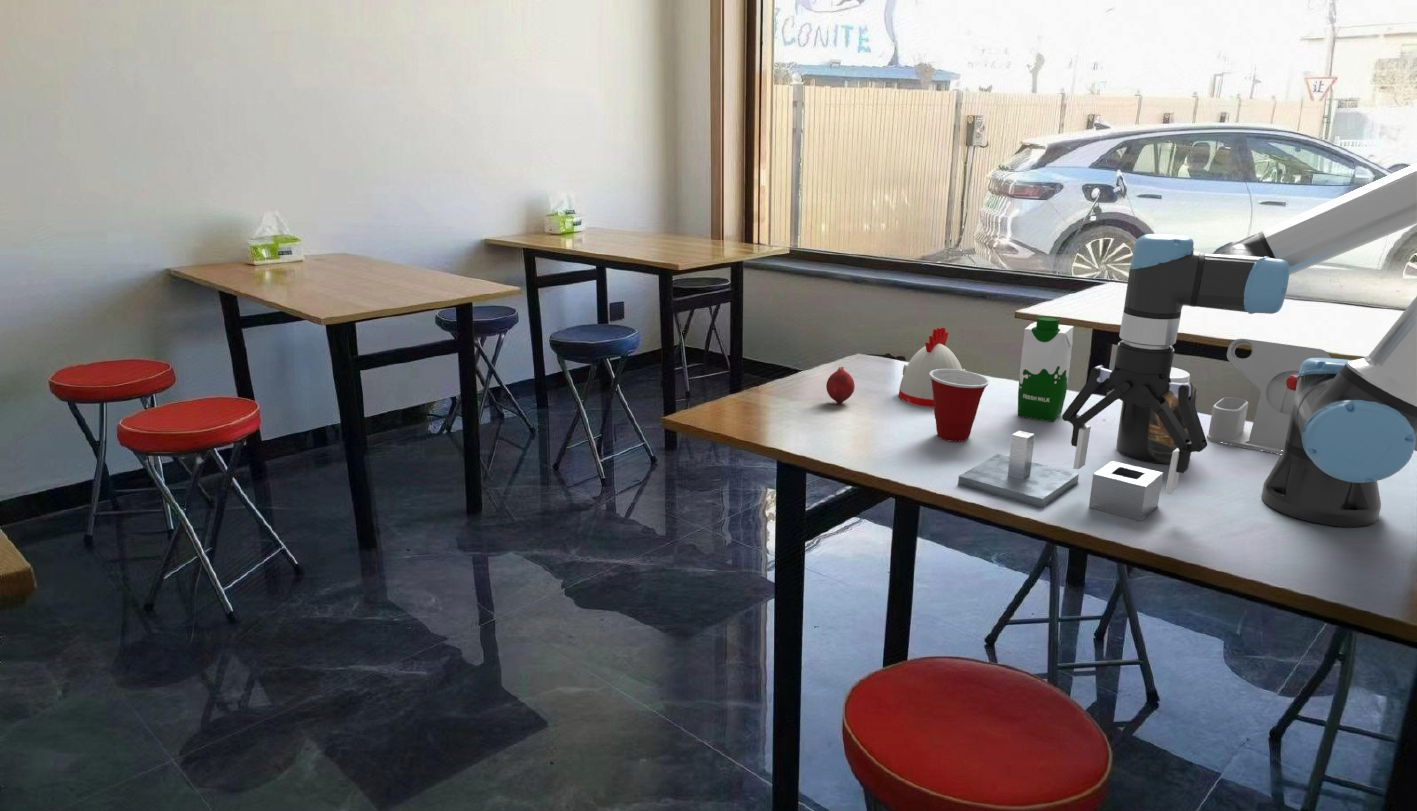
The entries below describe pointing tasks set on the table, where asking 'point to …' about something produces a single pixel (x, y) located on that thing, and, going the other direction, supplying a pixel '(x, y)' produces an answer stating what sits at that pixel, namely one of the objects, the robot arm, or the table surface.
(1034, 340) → the milk carton
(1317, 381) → the robot arm
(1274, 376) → the phone holder
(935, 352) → the chicken hat
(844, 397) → the onion
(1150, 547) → the table surface
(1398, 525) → the table surface
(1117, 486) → the block
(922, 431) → the table surface
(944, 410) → the plastic cup
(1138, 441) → the jar
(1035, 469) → the stand
